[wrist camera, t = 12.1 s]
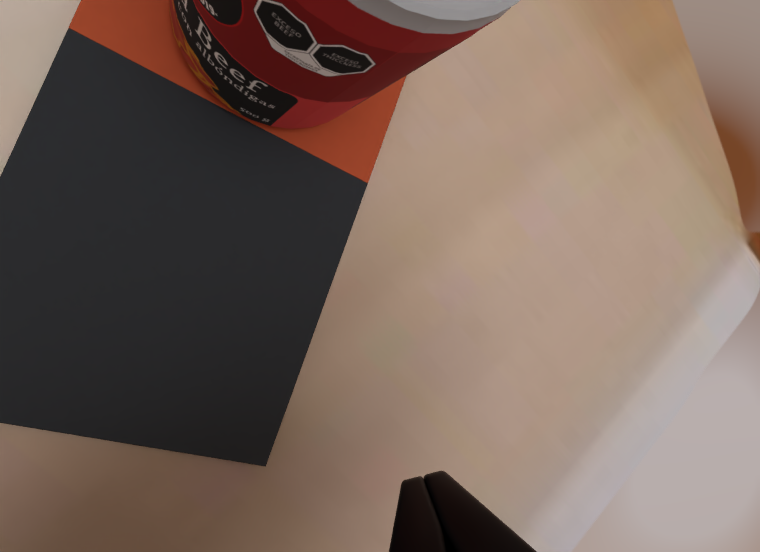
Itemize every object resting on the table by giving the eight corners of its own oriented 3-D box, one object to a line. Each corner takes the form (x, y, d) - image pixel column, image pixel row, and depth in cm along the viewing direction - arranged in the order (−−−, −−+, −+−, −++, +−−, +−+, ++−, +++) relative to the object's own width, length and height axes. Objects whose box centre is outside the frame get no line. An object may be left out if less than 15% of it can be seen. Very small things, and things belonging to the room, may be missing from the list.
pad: (365, 183, 21) (367, 183, 21) (69, 30, 16) (68, 27, 16) (414, 47, 22) (417, 46, 22) (148, -145, 17) (148, -148, 16)
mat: (264, 464, 20) (265, 466, 20) (-102, 403, 14) (-105, 405, 14) (365, 183, 21) (367, 183, 21) (69, 30, 16) (68, 27, 16)
